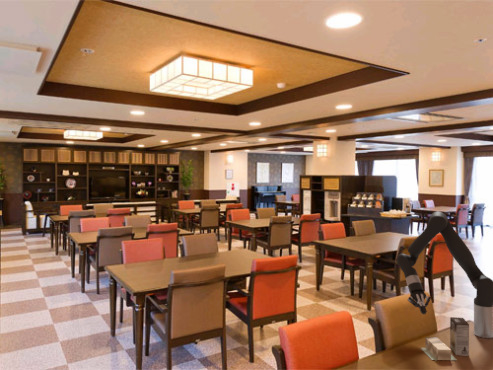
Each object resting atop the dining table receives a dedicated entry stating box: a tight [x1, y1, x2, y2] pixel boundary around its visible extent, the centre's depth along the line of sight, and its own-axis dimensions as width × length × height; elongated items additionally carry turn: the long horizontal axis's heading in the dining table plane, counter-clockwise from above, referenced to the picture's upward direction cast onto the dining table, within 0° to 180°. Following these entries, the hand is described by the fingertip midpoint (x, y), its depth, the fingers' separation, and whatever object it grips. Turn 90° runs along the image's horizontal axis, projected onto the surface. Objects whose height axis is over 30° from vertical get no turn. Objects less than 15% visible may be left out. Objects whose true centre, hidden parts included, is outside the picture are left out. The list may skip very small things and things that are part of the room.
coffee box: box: [449, 316, 470, 357], centre depth 191 cm, size 9×6×16 cm
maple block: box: [425, 336, 452, 360], centre depth 190 cm, size 5×6×14 cm
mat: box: [420, 347, 458, 362], centre depth 189 cm, size 13×12×1 cm
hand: (424, 313), depth 205 cm, fingers closed
